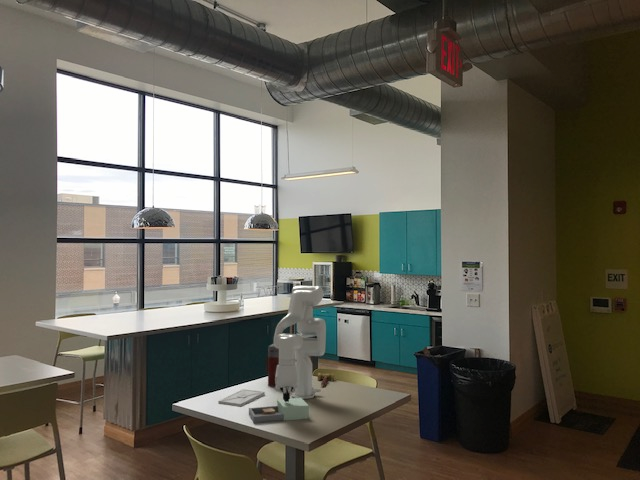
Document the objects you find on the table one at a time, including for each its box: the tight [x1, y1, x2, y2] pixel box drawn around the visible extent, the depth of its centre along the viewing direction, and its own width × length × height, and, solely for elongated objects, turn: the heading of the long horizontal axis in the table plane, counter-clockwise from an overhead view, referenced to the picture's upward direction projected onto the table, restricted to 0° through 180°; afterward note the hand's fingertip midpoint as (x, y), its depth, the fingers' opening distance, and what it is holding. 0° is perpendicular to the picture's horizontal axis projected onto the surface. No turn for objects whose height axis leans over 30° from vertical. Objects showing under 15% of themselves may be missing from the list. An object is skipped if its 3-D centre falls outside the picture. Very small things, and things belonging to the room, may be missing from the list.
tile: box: [262, 408, 275, 415], centre depth 244 cm, size 5×5×3 cm
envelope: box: [217, 388, 266, 407], centre depth 277 cm, size 24×2×14 cm
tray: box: [248, 405, 285, 424], centre depth 245 cm, size 14×14×3 cm
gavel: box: [317, 372, 335, 388], centre depth 311 cm, size 21×5×10 cm
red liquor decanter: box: [265, 343, 279, 387], centre depth 309 cm, size 9×11×28 cm
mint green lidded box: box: [276, 397, 310, 422], centre depth 249 cm, size 12×14×6 cm
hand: (286, 401), depth 248 cm, fingers closed
